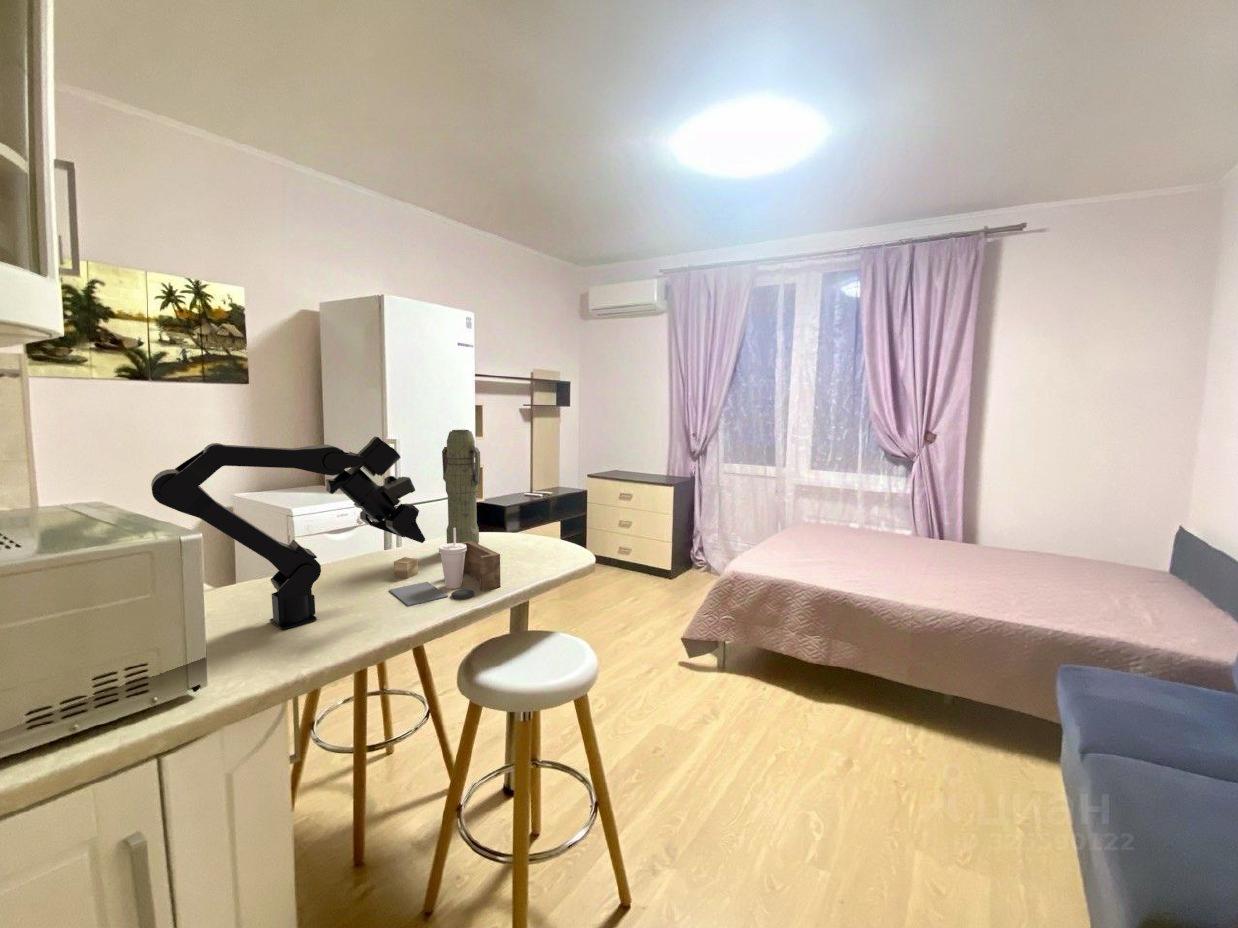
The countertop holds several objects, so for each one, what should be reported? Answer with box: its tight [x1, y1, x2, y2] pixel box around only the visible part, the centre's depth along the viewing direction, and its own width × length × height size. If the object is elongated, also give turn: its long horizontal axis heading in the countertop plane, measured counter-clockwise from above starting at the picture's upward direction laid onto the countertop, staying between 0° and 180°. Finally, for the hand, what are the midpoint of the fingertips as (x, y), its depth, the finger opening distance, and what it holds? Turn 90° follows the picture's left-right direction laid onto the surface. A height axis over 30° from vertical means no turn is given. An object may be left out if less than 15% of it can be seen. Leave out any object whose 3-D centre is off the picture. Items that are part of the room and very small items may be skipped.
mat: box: [388, 581, 449, 607], centre depth 129 cm, size 9×12×1 cm
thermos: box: [441, 429, 481, 544], centre depth 161 cm, size 9×12×35 cm
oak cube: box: [393, 556, 419, 580], centre depth 141 cm, size 4×4×4 cm
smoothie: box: [438, 528, 467, 590], centre depth 133 cm, size 6×6×14 cm
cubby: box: [462, 541, 501, 592], centre depth 138 cm, size 5×15×8 cm, turn 40°
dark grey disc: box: [450, 588, 475, 601], centre depth 128 cm, size 5×5×1 cm
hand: (414, 538), depth 127 cm, fingers open, 9 cm apart
